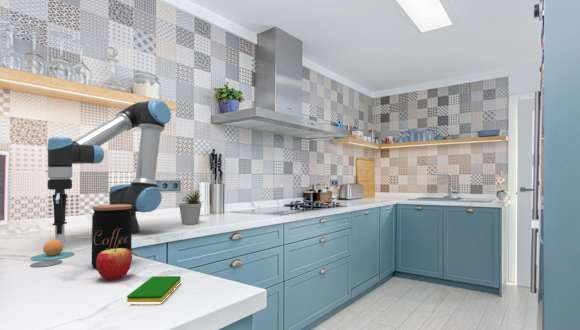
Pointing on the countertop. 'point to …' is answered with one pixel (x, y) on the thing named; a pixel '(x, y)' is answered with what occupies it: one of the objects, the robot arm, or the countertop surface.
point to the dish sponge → (154, 289)
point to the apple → (114, 262)
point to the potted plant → (190, 210)
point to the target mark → (45, 257)
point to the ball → (53, 247)
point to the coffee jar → (111, 228)
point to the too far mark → (46, 263)
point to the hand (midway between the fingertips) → (59, 242)
